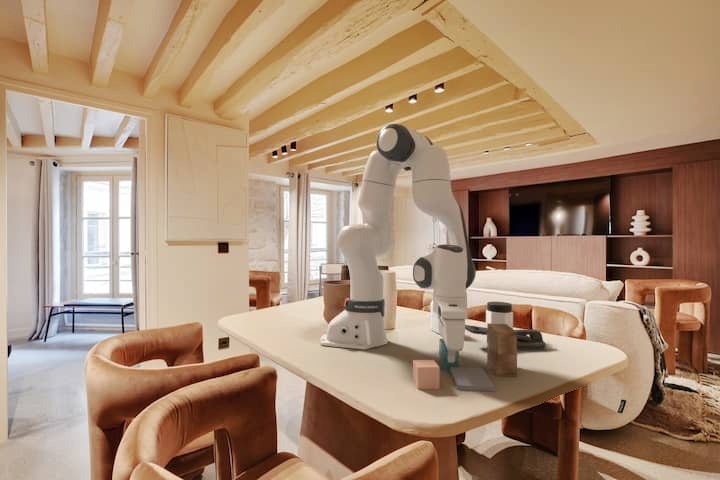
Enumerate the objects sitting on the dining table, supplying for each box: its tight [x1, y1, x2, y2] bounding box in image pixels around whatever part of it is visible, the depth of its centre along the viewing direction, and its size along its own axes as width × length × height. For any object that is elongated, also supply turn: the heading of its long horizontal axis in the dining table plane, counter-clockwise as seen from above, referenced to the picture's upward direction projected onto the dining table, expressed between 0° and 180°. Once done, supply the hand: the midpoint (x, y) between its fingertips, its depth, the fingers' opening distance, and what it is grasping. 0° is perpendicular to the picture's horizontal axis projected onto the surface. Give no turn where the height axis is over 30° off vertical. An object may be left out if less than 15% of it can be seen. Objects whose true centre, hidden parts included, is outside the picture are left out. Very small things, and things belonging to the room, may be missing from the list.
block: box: [412, 359, 441, 390], centre depth 83 cm, size 5×5×5 cm
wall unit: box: [486, 324, 518, 377], centre depth 94 cm, size 5×10×11 cm, turn 174°
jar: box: [485, 301, 514, 337], centre depth 126 cm, size 9×8×12 cm
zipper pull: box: [465, 324, 546, 352], centre depth 114 cm, size 9×7×25 cm
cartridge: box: [438, 338, 460, 372], centre depth 95 cm, size 4×4×7 cm
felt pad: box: [450, 366, 495, 392], centre depth 86 cm, size 8×12×1 cm, turn 174°
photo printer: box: [430, 300, 441, 335], centre depth 132 cm, size 10×4×12 cm, turn 14°
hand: (449, 357), depth 95 cm, fingers open, 4 cm apart
